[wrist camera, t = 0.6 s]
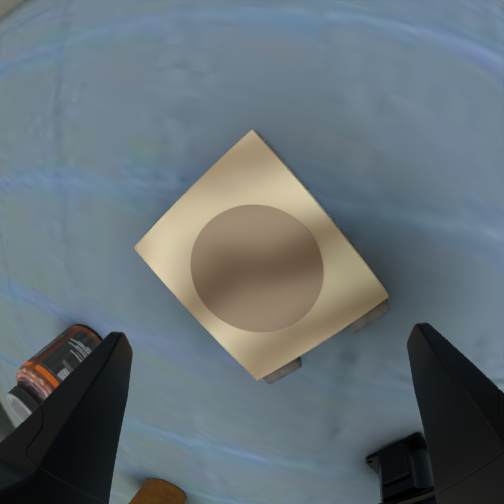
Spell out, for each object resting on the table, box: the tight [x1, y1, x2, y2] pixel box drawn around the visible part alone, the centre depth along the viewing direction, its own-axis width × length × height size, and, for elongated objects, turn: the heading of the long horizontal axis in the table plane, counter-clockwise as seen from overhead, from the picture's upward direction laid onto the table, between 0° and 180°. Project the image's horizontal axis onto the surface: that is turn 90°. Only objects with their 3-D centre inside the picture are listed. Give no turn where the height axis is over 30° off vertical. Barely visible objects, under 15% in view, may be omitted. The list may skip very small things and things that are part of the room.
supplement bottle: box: [7, 325, 101, 422], centre depth 23 cm, size 6×6×11 cm
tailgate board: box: [134, 130, 390, 384], centre depth 22 cm, size 15×12×1 cm
